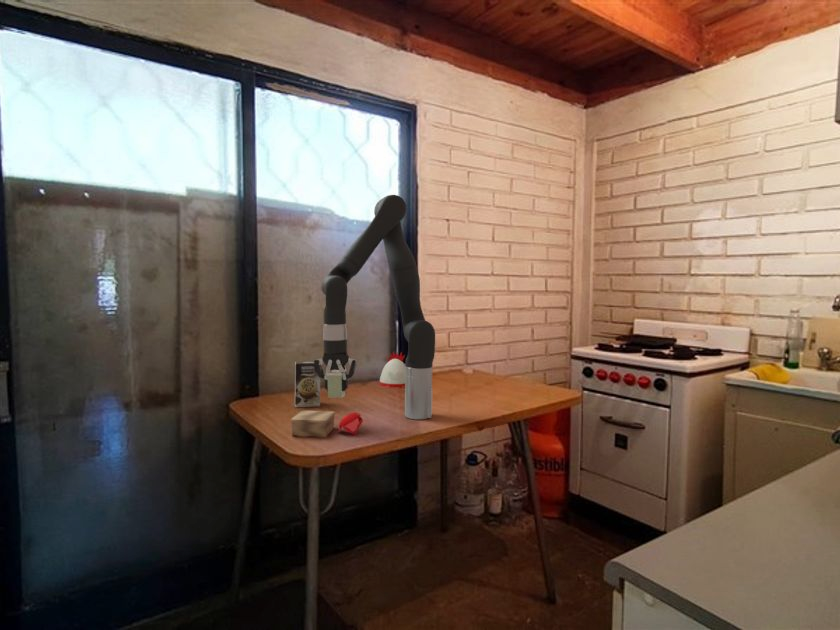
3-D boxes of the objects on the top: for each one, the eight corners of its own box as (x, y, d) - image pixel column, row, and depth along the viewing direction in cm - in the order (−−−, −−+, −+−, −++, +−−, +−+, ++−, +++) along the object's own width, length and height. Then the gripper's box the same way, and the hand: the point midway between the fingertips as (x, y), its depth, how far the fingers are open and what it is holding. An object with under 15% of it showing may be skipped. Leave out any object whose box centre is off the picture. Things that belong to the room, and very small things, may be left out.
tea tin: (345, 394, 162) (344, 370, 161) (342, 398, 157) (341, 373, 156) (331, 394, 162) (330, 370, 161) (327, 398, 157) (326, 372, 157)
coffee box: (294, 407, 179) (295, 363, 178) (294, 403, 185) (294, 360, 184) (320, 406, 181) (320, 362, 180) (319, 402, 187) (319, 360, 186)
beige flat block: (335, 427, 155) (335, 411, 155) (326, 437, 145) (326, 420, 144) (302, 425, 156) (302, 410, 156) (290, 436, 145) (290, 419, 145)
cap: (365, 418, 154) (349, 408, 154) (366, 417, 148) (349, 406, 148) (351, 441, 151) (334, 430, 152) (351, 440, 146) (334, 429, 146)
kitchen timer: (410, 388, 217) (410, 354, 216) (378, 387, 217) (379, 353, 216) (410, 381, 231) (410, 349, 230) (380, 381, 231) (381, 349, 230)
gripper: (359, 336, 161) (360, 388, 163) (316, 336, 162) (317, 388, 164) (354, 339, 154) (355, 393, 155) (309, 339, 155) (311, 393, 156)
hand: (336, 390), depth 159 cm, fingers closed on tea tin, 4 cm apart
